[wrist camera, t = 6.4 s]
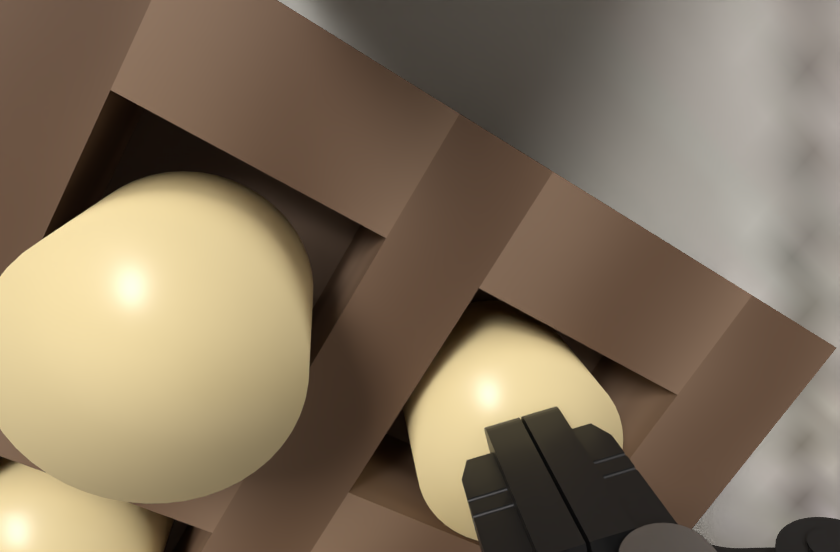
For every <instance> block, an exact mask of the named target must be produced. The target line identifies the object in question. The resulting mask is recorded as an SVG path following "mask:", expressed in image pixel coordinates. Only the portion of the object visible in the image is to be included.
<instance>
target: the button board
mask: <svg viewBox="0 0 840 552" xmlns="http://www.w3.org/2000/svg"><path fill="white" fill-rule="evenodd" d="M177 171H189V172H201V173H207V174H212V175H217V176H220V177H224V178H227V179H230V180H233V181H235V182H237V183H240V184H242V185H244V186H246V187H248V188H250V189H251V190H253V191H255V192H256V193H258V194H260V195H261V196H263V197H264V198H265V199H267V200H268V201H269V202H270V203H272V204H273V205H274V206H275V207H276V208H277V209H278V210H279V211H280V212H281V213H282V214H283V215H284V216H285V217H286V218H287V220H288V221H289V222H290V224H291V225H292V226H293V228H294V229H295V230H296V232H297V234H298V236H299V237H300V239H301V241H302V243H303V245H304V247H305V250H306V252H307V255H308V258H309V262H310V266H311V270H312V277H313V308H312V327H311V346H310V365H309V383H308V388H307V394H306V399H305V402H304V405H303V408H302V411H301V414H300V417H299V419H298V421H297V423H296V425H295V427H294V429H293V431H292V432H291V434H290V435H289V437H288V438H287V440H286V441H285V442H284V444H283V445H282V447H281V448H280V449H279V450H278V451H277V452H276V453H275V454H274V455H273V456H272V458H271V459H270V460H269V461H267V462H266V463H265V464H264V465H263V466H261V467H260V468H259V469H258V470H257V471H255V472H254V473H252V474H251V475H249V476H248V477H246V478H245V479H243V480H242V481H240V482H238V483H236V484H234V485H232V486H230V487H228V488H226V489H224V490H221V491H218V492H215V493H213V494H210V495H207V496H204V497H200V498H195V499H191V500H187V501H180V502H172V503H152V504H144V503H133V502H128V503H131V504H134V505H137V506H139V507H142V508H145V509H148V510H150V511H153V512H156V513H159V514H161V515H164V516H167V517H170V518H172V519H174V521H173V524H172V527H171V530H170V533H169V536H168V539H167V542H166V546H165V549H164V552H482V551H481V548H480V545H479V542H478V541H477V540H474V539H471V538H468V537H465V536H463V535H461V534H459V533H457V532H455V531H454V530H452V529H451V528H449V527H448V526H446V525H445V524H444V523H443V522H442V521H441V520H439V519H438V518H437V517H436V515H435V514H434V513H433V512H432V511H431V509H430V508H429V506H428V505H427V503H426V501H425V499H424V497H423V495H422V492H421V490H420V487H419V482H418V477H417V473H416V468H415V463H414V459H413V454H412V449H411V445H410V440H409V435H408V431H407V426H406V421H405V417H404V412H403V406H404V405H405V403H406V402H407V400H408V398H409V397H410V395H411V394H412V392H413V391H414V389H415V387H416V386H417V384H418V383H419V381H420V380H421V378H422V376H423V375H424V373H425V372H426V370H427V369H428V367H429V366H430V364H431V362H432V361H433V359H434V358H435V356H436V355H437V353H438V351H439V350H440V348H441V347H442V345H443V344H444V342H445V340H446V339H447V337H448V336H449V334H450V333H451V331H452V330H453V328H454V326H455V325H456V323H457V322H458V320H459V319H460V317H461V315H462V314H463V312H464V311H465V309H466V308H467V306H468V304H469V303H474V302H479V301H489V300H490V301H504V302H506V303H507V304H509V305H511V306H513V307H515V308H517V309H519V310H520V311H522V312H524V313H526V314H528V315H530V316H532V317H533V318H535V319H537V320H539V321H541V322H543V323H545V324H547V325H548V326H550V327H552V328H554V329H555V330H556V332H557V333H558V334H559V335H560V337H561V338H562V339H563V340H564V341H565V343H566V344H567V345H568V346H569V348H570V349H571V350H572V351H573V352H574V354H575V355H576V356H577V357H578V359H579V360H580V361H581V362H582V363H583V365H584V366H585V367H586V368H587V370H588V371H589V372H590V373H591V374H592V376H593V377H594V378H595V379H596V381H597V382H598V383H599V384H600V385H601V387H602V388H603V389H604V390H605V392H606V393H607V394H608V395H609V397H610V398H611V400H612V401H613V403H614V405H615V407H616V409H617V411H618V414H619V416H620V420H621V424H622V430H623V451H624V453H625V455H626V456H628V458H629V459H630V460H631V462H632V463H633V464H634V466H635V469H636V470H638V471H639V473H640V474H641V475H642V477H643V478H644V479H645V481H646V482H647V483H648V485H649V486H650V487H651V489H652V490H653V491H654V493H655V494H656V496H657V497H658V498H659V500H660V501H661V502H662V504H663V505H664V506H665V508H666V509H667V510H668V512H669V513H670V515H671V516H672V517H673V519H674V520H675V521H676V523H677V524H678V525H682V526H685V527H688V528H690V529H692V528H693V527H694V526H695V524H696V523H697V522H698V521H699V519H700V518H701V517H702V516H703V514H704V513H705V512H706V511H707V509H708V508H709V507H710V505H711V504H712V503H713V502H714V500H715V499H716V498H717V497H718V495H719V494H720V493H721V492H722V490H723V489H724V488H725V487H726V485H727V484H728V483H729V482H730V480H731V479H732V478H733V477H734V475H735V474H736V473H737V472H738V470H739V469H740V468H741V467H742V465H743V464H744V463H745V462H746V460H747V459H748V458H749V457H750V455H751V454H752V453H753V452H754V450H755V449H756V448H757V447H758V445H759V444H760V443H761V442H762V440H763V439H764V438H765V437H766V435H767V434H768V433H769V432H770V430H771V429H772V428H773V427H774V425H775V424H776V423H777V422H778V420H779V419H780V418H781V417H782V415H783V414H784V413H785V412H786V410H787V409H788V408H789V407H790V405H791V404H792V403H793V402H794V400H795V399H796V398H797V397H798V395H799V394H800V393H801V392H802V390H803V389H804V388H805V387H806V385H807V384H808V383H809V382H810V380H811V379H812V378H813V377H814V375H815V374H816V373H817V372H818V370H819V369H820V368H821V367H822V365H823V364H824V363H825V362H826V360H827V359H828V358H829V357H830V355H831V354H832V353H833V352H834V350H835V349H836V347H834V346H833V345H831V344H829V343H828V342H826V341H825V340H823V339H821V338H820V337H818V336H817V335H815V334H813V333H812V332H810V331H809V330H807V329H805V328H804V327H802V326H801V325H799V324H797V323H796V322H794V321H792V320H791V319H789V318H788V317H786V316H784V315H783V314H781V313H780V312H778V311H776V310H775V309H773V308H772V307H770V306H768V305H767V304H765V303H763V302H762V301H760V300H759V299H757V298H755V297H754V296H752V295H751V294H749V293H747V292H746V291H744V290H743V289H741V288H739V287H738V286H736V285H735V284H733V283H731V282H730V281H728V280H726V279H725V278H723V277H722V276H720V275H718V274H717V273H715V272H714V271H712V270H710V269H709V268H707V267H706V266H704V265H702V264H701V263H699V262H698V261H696V260H694V259H693V258H691V257H689V256H688V255H686V254H685V253H683V252H681V251H680V250H678V249H677V248H675V247H673V246H672V245H670V244H669V243H667V242H665V241H664V240H662V239H661V238H659V237H657V236H656V235H654V234H652V233H651V232H649V231H648V230H646V229H644V228H643V227H641V226H640V225H638V224H636V223H635V222H633V221H632V220H630V219H628V218H627V217H625V216H623V215H622V214H620V213H619V212H617V211H615V210H614V209H612V208H611V207H609V206H607V205H606V204H604V203H603V202H601V201H599V200H598V199H596V198H595V197H593V196H591V195H590V194H588V193H586V192H585V191H583V190H582V189H580V188H578V187H577V186H575V185H574V184H572V183H570V182H569V181H567V180H566V179H564V178H562V177H561V176H559V175H558V174H556V173H554V172H553V171H551V170H549V169H548V168H546V167H545V166H543V165H541V164H540V163H538V162H537V161H535V160H533V159H532V158H530V157H529V156H527V155H525V154H524V153H522V152H521V151H519V150H517V149H516V148H514V147H512V146H511V145H509V144H508V143H506V142H504V141H503V140H501V139H500V138H498V137H496V136H495V135H493V134H492V133H490V132H488V131H487V130H485V129H483V128H482V127H480V126H479V125H477V124H475V123H474V122H472V121H471V120H469V119H467V118H466V117H464V116H463V115H461V114H459V113H458V112H456V111H455V110H453V109H451V108H450V107H448V106H446V105H445V104H443V103H442V102H440V101H438V100H437V99H435V98H434V97H432V96H430V95H429V94H427V93H426V92H424V91H422V90H421V89H419V88H418V87H416V86H414V85H413V84H411V83H409V82H408V81H406V80H405V79H403V78H401V77H400V76H398V75H397V74H395V73H393V72H392V71H390V70H389V69H387V68H385V67H384V66H382V65H381V64H379V63H377V62H376V61H374V60H372V59H371V58H369V57H368V56H366V55H364V54H363V53H361V52H360V51H358V50H356V49H355V48H353V47H352V46H350V45H348V44H347V43H345V42H343V41H342V40H340V39H339V38H337V37H335V36H334V35H332V34H331V33H329V32H327V31H326V30H324V29H323V28H321V27H319V26H318V25H316V24H315V23H313V22H311V21H310V20H308V19H306V18H305V17H303V16H302V15H300V14H298V13H297V12H295V11H294V10H292V9H290V8H289V7H287V6H286V5H284V4H282V3H281V2H279V1H278V0H0V276H1V275H2V274H3V272H4V271H5V270H6V268H7V267H8V266H9V265H10V264H11V263H13V262H14V261H15V260H16V259H17V258H18V257H19V256H20V255H21V254H22V253H23V252H25V251H26V250H28V249H29V248H31V247H32V246H33V245H35V244H36V243H38V242H39V241H41V240H42V239H44V238H45V237H47V236H48V235H50V234H51V233H53V232H54V231H56V230H57V229H59V228H60V227H62V226H63V225H65V224H66V223H68V222H69V221H71V220H72V219H74V218H75V217H77V216H78V215H80V214H81V213H83V212H84V211H86V210H87V209H89V208H90V207H92V206H93V205H94V204H96V203H97V202H99V201H100V200H102V199H103V198H105V197H106V196H108V195H109V194H111V193H112V192H114V191H115V190H117V189H118V188H120V187H122V186H124V185H126V184H128V183H130V182H132V181H135V180H138V179H141V178H143V177H146V176H150V175H154V174H159V173H164V172H177ZM0 456H1V457H4V458H7V459H10V460H12V461H15V462H18V463H21V464H23V465H26V466H29V467H32V468H34V469H37V470H40V471H43V470H42V469H40V468H39V467H38V466H36V465H35V464H33V463H32V462H31V461H30V460H28V459H27V458H26V457H25V456H24V455H23V454H22V453H21V452H20V451H19V450H17V449H16V448H15V446H14V445H13V444H12V443H11V442H10V441H9V439H8V438H7V437H6V436H5V435H4V434H3V432H2V431H1V429H0ZM43 472H45V471H43ZM45 473H46V472H45Z"/></svg>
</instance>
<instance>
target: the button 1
mask: <svg viewBox="0 0 840 552" xmlns="http://www.w3.org/2000/svg"><path fill="white" fill-rule="evenodd" d="M173 521H174V519H172V518H170V517H167V516H164V515H161V514H159V513H156V512H153V511H150V510H148V509H145V508H142V507H139V506H137V505H134V504H131V503H128V502H123V501H118V500H113V499H108V498H103V497H100V496H97V495H93V494H90V493H87V492H84V491H82V490H79V489H77V488H74V487H72V486H70V485H67V484H65V483H63V482H62V481H60V480H58V479H56V478H54V477H53V476H51V475H49V474H47V473H45V472H43V471H40V470H37V469H34V468H32V467H29V466H26V465H23V464H21V463H18V462H15V461H12V460H10V459H7V458H4V457H1V456H0V552H164V549H165V546H166V542H167V539H168V536H169V533H170V530H171V527H172V524H173Z"/></svg>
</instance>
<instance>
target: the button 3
mask: <svg viewBox="0 0 840 552" xmlns="http://www.w3.org/2000/svg"><path fill="white" fill-rule="evenodd" d="M312 308H313V277H312V270H311V266H310V262H309V258H308V255H307V252H306V250H305V247H304V245H303V243H302V241H301V239H300V237H299V236H298V234H297V232H296V230H295V229H294V228H293V226H292V225H291V224H290V222H289V221H288V220H287V218H286V217H285V216H284V215H283V214H282V213H281V212H280V211H279V210H278V209H277V208H276V207H275V206H274V205H273V204H272V203H270V202H269V201H268V200H267V199H265V198H264V197H263V196H261V195H260V194H258V193H256V192H255V191H253V190H251V189H250V188H248V187H246V186H244V185H242V184H240V183H237V182H235V181H233V180H230V179H227V178H224V177H220V176H217V175H212V174H207V173H201V172H189V171H177V172H164V173H159V174H154V175H150V176H146V177H143V178H141V179H138V180H135V181H132V182H130V183H128V184H126V185H124V186H122V187H120V188H118V189H117V190H115V191H114V192H112V193H111V194H109V195H108V196H106V197H105V198H103V199H102V200H100V201H99V202H97V203H96V204H94V205H93V206H92V207H90V208H89V209H87V210H86V211H84V212H83V213H81V214H80V215H78V216H77V217H75V218H74V219H72V220H71V221H69V222H68V223H66V224H65V225H63V226H62V227H60V228H59V229H57V230H56V231H54V232H53V233H51V234H50V235H48V236H47V237H45V238H44V239H42V240H41V241H39V242H38V243H36V244H35V245H33V246H32V247H31V248H29V249H28V250H26V251H25V252H23V253H22V254H21V255H20V256H19V257H18V258H17V259H16V260H15V261H14V262H13V263H11V264H10V265H9V266H8V267H7V268H6V270H5V271H4V272H3V274H2V275H1V276H0V429H1V431H2V432H3V434H4V435H5V436H6V437H7V438H8V439H9V441H10V442H11V443H12V444H13V445H14V446H15V448H16V449H17V450H19V451H20V452H21V453H22V454H23V455H24V456H25V457H26V458H27V459H28V460H30V461H31V462H32V463H33V464H35V465H36V466H38V467H39V468H40V469H42V470H43V471H45V472H46V473H47V474H49V475H51V476H53V477H54V478H56V479H58V480H60V481H62V482H63V483H65V484H67V485H70V486H72V487H74V488H77V489H79V490H82V491H84V492H87V493H90V494H93V495H97V496H100V497H103V498H108V499H113V500H118V501H123V502H133V503H144V504H152V503H172V502H180V501H187V500H191V499H195V498H200V497H204V496H207V495H210V494H213V493H215V492H218V491H221V490H224V489H226V488H228V487H230V486H232V485H234V484H236V483H238V482H240V481H242V480H243V479H245V478H246V477H248V476H249V475H251V474H252V473H254V472H255V471H257V470H258V469H259V468H260V467H261V466H263V465H264V464H265V463H266V462H267V461H269V460H270V459H271V458H272V456H273V455H274V454H275V453H276V452H277V451H278V450H279V449H280V448H281V447H282V445H283V444H284V442H285V441H286V440H287V438H288V437H289V435H290V434H291V432H292V431H293V429H294V427H295V425H296V423H297V421H298V419H299V417H300V414H301V411H302V408H303V405H304V402H305V399H306V394H307V388H308V383H309V365H310V346H311V327H312Z"/></svg>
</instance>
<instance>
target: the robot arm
mask: <svg viewBox="0 0 840 552" xmlns="http://www.w3.org/2000/svg"><path fill="white" fill-rule="evenodd" d="M484 431H485V435H486V439H487V443H488V447H489V451H490V453H489V454H486V455H482V456H479V457H476V458H472V459H469V460H467V461H466V465H465V469H464V472H463V476H462V483H463V487H464V491H465V494H466V498H467V502H468V505H469V509H470V513H471V516H472V520H473V523H474V527H475V531H476V534H477V538H478V542H479V545H480V548H481V551H482V552H840V520H838V519H833V518H826V517H811V518H804V519H799V520H797V521H794V522H792V523H790V524H788V525H786V526H785V527H784V528H783V529H782V530H781V531H780V532H779V534H778V536H777V539H776V545H775V548H726V547H719V546H715V545H711V544H710V543H709V542H708V541H707V540H706V539H705V538H704V537H703V536H702V535H700V534H699V533H697V532H696V531H694V530H692V529H690V528H688V527H685V526H682V525H678V524H677V523H676V521H675V520H674V519H673V517H672V516H671V515H670V513H669V512H668V510H667V509H666V508H665V506H664V505H663V504H662V502H661V501H660V500H659V498H658V497H657V496H656V494H655V493H654V491H653V490H652V489H651V487H650V486H649V485H648V483H647V482H646V481H645V479H644V478H643V477H642V475H641V474H640V473H639V471H638V470H636V469H635V466H634V464H633V463H632V462H631V460H630V459H629V458H628V456H626V455H625V453H624V451H623V449H622V448H621V447H620V445H619V444H618V443H617V441H616V440H615V439H614V437H613V436H612V435H611V434H609V433H607V432H606V431H604V430H602V429H600V428H598V427H597V426H595V425H593V424H591V423H590V424H587V425H583V426H580V427H576V428H573V429H572V428H571V426H570V425H569V423H568V422H567V420H566V419H565V417H564V416H563V414H562V412H561V411H560V409H559V408H558V407H557V406H556V407H552V408H549V409H545V410H542V411H539V412H535V413H532V414H528V415H525V416H522V417H521V419H520V418H515V419H512V420H508V421H505V422H502V423H498V424H495V425H491V426H488V427H485V428H484Z"/></svg>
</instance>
